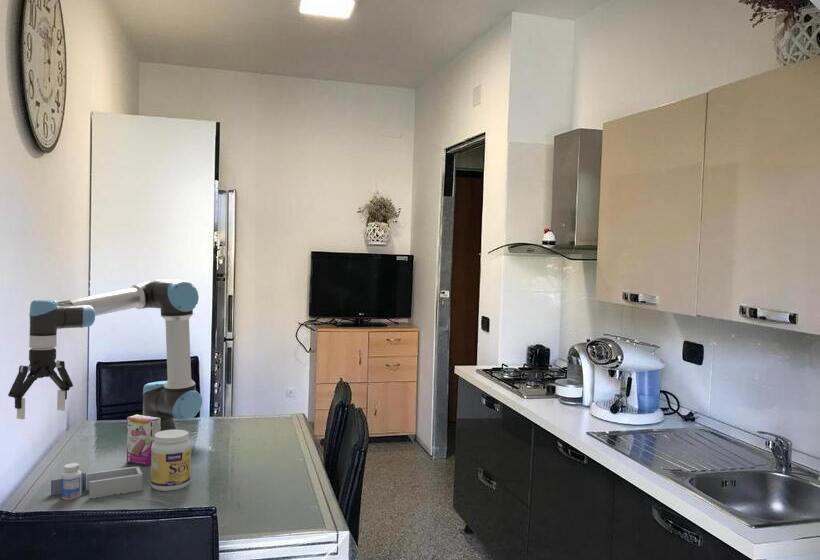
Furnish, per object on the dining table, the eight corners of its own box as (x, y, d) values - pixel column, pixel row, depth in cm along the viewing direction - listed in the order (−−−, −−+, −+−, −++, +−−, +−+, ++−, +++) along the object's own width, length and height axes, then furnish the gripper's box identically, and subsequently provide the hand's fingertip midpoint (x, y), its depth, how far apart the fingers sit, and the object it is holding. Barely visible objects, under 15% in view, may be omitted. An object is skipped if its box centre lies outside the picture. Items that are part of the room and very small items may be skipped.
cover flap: (86, 489, 196) (86, 473, 196) (50, 495, 191) (51, 478, 191) (85, 488, 197) (86, 472, 197) (50, 494, 192) (50, 477, 192)
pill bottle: (66, 493, 193) (66, 462, 193) (84, 493, 193) (84, 462, 193) (58, 500, 187) (58, 467, 187) (76, 500, 188) (77, 467, 188)
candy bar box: (125, 462, 222) (126, 417, 222) (136, 458, 227) (136, 413, 226) (151, 467, 218) (151, 420, 218) (161, 462, 223) (161, 417, 223)
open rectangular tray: (138, 481, 205) (138, 466, 204) (142, 490, 197) (143, 474, 197) (86, 489, 197) (86, 473, 196) (89, 498, 189) (89, 482, 189)
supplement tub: (166, 495, 193) (167, 441, 193) (142, 486, 200) (142, 434, 199) (198, 483, 204) (199, 432, 203) (174, 476, 210) (175, 426, 210)
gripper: (70, 343, 213) (68, 405, 213) (-5, 351, 190) (-6, 420, 191) (85, 345, 210) (84, 408, 210) (11, 353, 187) (10, 424, 187)
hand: (41, 414), depth 200 cm, fingers open, 13 cm apart
